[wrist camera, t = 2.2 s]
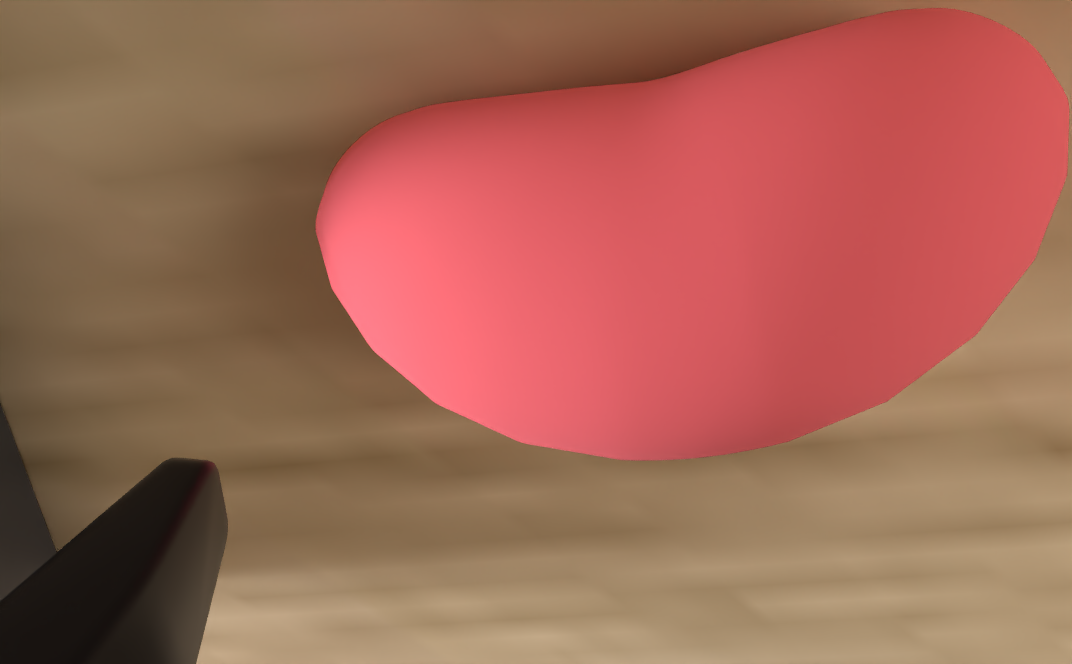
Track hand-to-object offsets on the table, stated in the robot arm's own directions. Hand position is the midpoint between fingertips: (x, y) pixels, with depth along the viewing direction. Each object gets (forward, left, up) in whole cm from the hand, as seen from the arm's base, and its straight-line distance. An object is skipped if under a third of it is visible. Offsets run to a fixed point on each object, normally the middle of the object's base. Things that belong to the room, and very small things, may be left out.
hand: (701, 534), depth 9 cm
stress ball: (0, 0, -7) cm, 7 cm away
